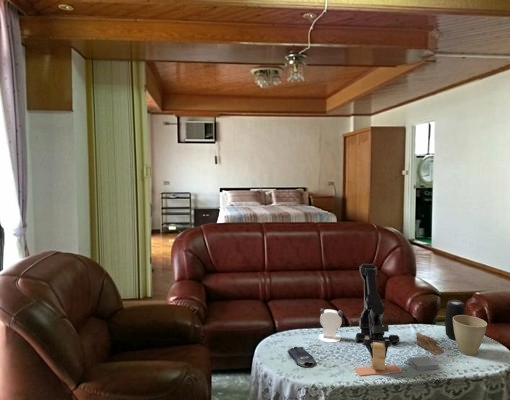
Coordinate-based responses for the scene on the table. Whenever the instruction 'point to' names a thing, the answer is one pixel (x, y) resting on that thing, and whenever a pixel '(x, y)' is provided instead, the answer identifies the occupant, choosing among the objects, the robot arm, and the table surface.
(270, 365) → the table surface
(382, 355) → the oak block
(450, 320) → the portable speaker
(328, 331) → the panda figurine
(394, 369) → the terracotta mat
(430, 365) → the slate ledge
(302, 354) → the electronic device
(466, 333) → the plant pot
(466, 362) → the table surface
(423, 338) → the wooden fragment
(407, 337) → the table surface
